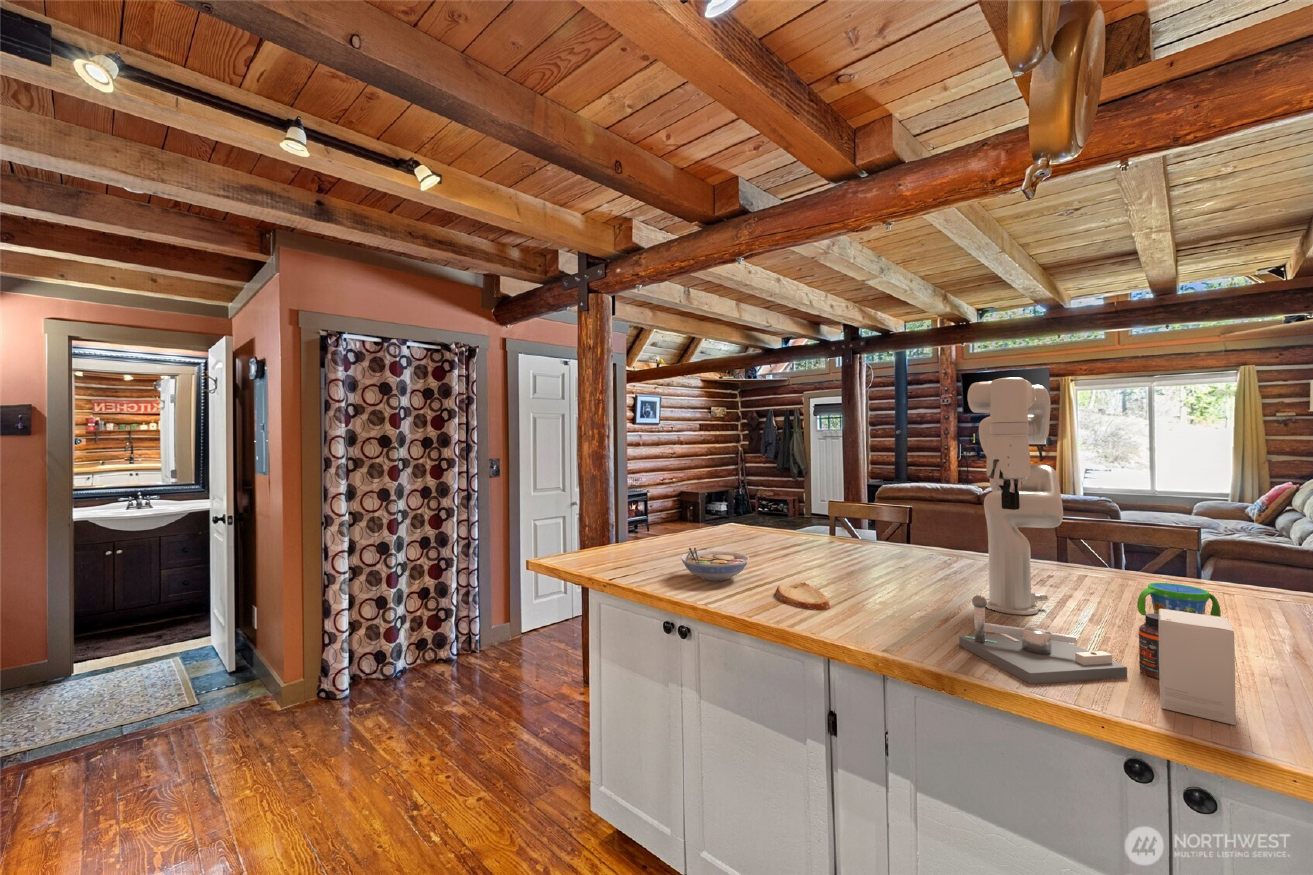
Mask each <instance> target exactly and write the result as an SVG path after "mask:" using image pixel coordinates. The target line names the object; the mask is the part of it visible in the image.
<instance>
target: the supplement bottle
mask: <svg viewBox="0 0 1313 875" xmlns="http://www.w3.org/2000/svg"><path fill="white" fill-rule="evenodd" d="M1144 621H1145V622H1144V623H1143V624H1141V625H1140V626H1139V628H1138V643H1139V644H1138V645H1139V646H1138V647H1139V648H1138V649H1139V650H1138V656H1139V660H1138V664H1139V670H1140V672H1141V673H1142V674H1144V675H1145V676H1147V677H1150V678H1152V679H1155V680H1159V614H1154V612H1151V613H1146V615H1145V619H1144Z"/></svg>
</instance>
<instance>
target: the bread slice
mask: <svg viewBox="0 0 1313 875" xmlns="http://www.w3.org/2000/svg"><path fill="white" fill-rule="evenodd" d="M774 594H775V596H776V598H778V600H780V601H781V602H784V603H786V602H787V603H786V604H788V605H790V606H795V607H796V608H800V607H801V608H802V609H805V610H811V609H816V610H815V611H828V610H831V609H832V607H831V604H830V601H829V599H828V598H827V596H826V595H825V594H824V593H823V592H821V591H820V590H818V589H817V588H815V587H814V586H812V585H810V584H809V583H806V581H805V582H800V583H799V582H798V583H796V584H792V585H788V586H786V587H785V586H782V585H780V584H779V585H778V586H777V587H776V590H775V592H774Z"/></svg>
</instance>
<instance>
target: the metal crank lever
mask: <svg viewBox="0 0 1313 875" xmlns="http://www.w3.org/2000/svg"><path fill="white" fill-rule="evenodd" d="M986 599H987V598H985V597H984V596H982V595H980V594H977V595H976V594H975V595H974V596H973V597H972V599H971V603H972V605H973V613H974V614H973V615H974V618H973V619H974V620H973V622H974V623H973V624H974V635H975V640H976V641H979V642H985V641H986V640H985V635H986V632H988V633H993V634H999V633H1001V634H1007V635H1014V636H1021V637H1022V648H1024V649H1025V650H1028V651H1031V652H1035V653H1043V654H1046V653H1051V652H1052V651H1051V640H1053V641H1060V642H1067V643H1070V644H1073V645H1075V644H1077V636H1076V635H1071V634H1063V633H1057V632H1051V631H1048V630H1047V629H1043V628H1039V627H1031V626H1029V627H1028V626H1027V627H1026V626H1025V627H1018V626H1011V625H1003V624H996V623H990V622H989V623H988V622H986V605H987V601H986Z"/></svg>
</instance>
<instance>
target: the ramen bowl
mask: <svg viewBox="0 0 1313 875" xmlns="http://www.w3.org/2000/svg"><path fill="white" fill-rule="evenodd" d="M688 550H689V552H687V553H684V554H682V555H681V556H680V559H681V562H682V564H683V565H684V566H685V568H686V569H687V570H688V572H689V573H691V574H692V575H693V576H696V577H698V578H701V579H703V580H704V581H706V582H711V583H712V582H713V583H714V582H715V583H717V582H725V581H727V580H728V579H731V578H733V577H735V576H737V575H739V574H740V573H742V571H743V570H744V568H746V566H747V563H748V562H749V559H750V556H748V555H746V554H745V553H740V552H737V551H727V550H701V551H700V550H699V551H697V548H696V547H693V550H694V551H693V550H692V548H691V547H689V548H688Z"/></svg>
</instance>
